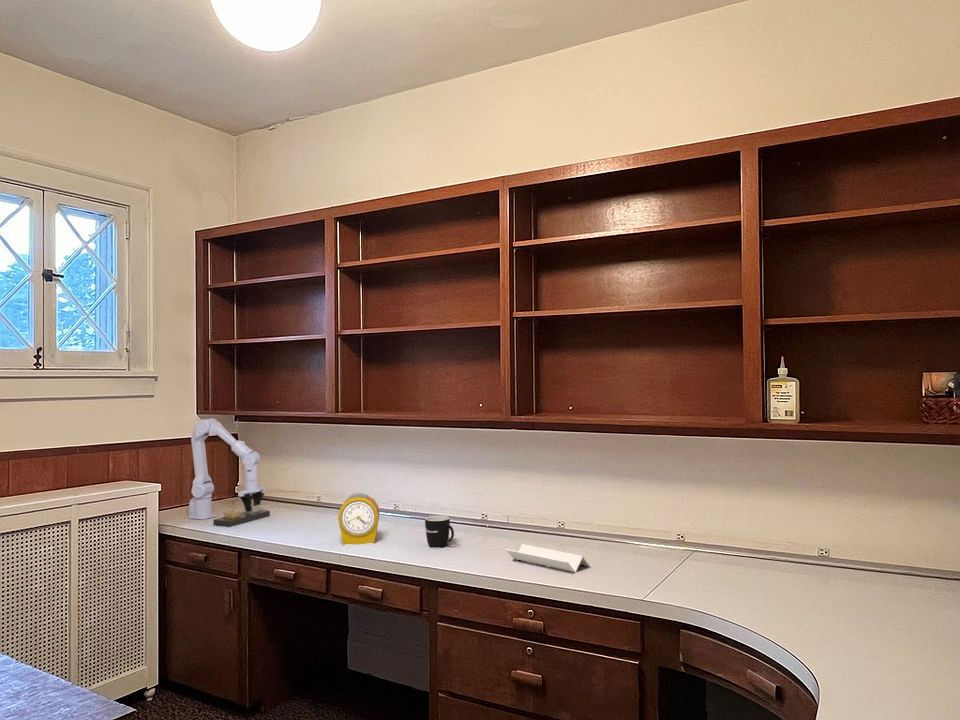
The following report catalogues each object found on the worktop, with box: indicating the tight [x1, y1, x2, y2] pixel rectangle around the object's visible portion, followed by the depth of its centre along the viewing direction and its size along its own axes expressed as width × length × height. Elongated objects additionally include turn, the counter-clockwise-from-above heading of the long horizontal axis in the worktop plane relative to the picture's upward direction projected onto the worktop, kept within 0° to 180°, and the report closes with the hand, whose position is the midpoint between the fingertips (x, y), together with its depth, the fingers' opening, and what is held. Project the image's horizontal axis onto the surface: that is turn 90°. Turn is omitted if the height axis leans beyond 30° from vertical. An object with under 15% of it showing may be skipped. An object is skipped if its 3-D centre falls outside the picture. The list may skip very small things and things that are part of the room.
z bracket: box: [505, 543, 591, 573], centre depth 241 cm, size 12×25×6 cm
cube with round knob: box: [244, 503, 261, 514], centre depth 325 cm, size 4×4×5 cm
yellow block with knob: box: [223, 510, 241, 520], centre depth 314 cm, size 4×4×5 cm
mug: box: [424, 515, 455, 548], centre depth 267 cm, size 12×9×10 cm
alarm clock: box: [337, 492, 380, 546], centre depth 277 cm, size 15×8×18 cm, turn 95°
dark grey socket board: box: [212, 509, 271, 528], centre depth 320 cm, size 9×24×2 cm, turn 153°
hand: (252, 510), depth 325 cm, fingers closed on cube with round knob, 4 cm apart
